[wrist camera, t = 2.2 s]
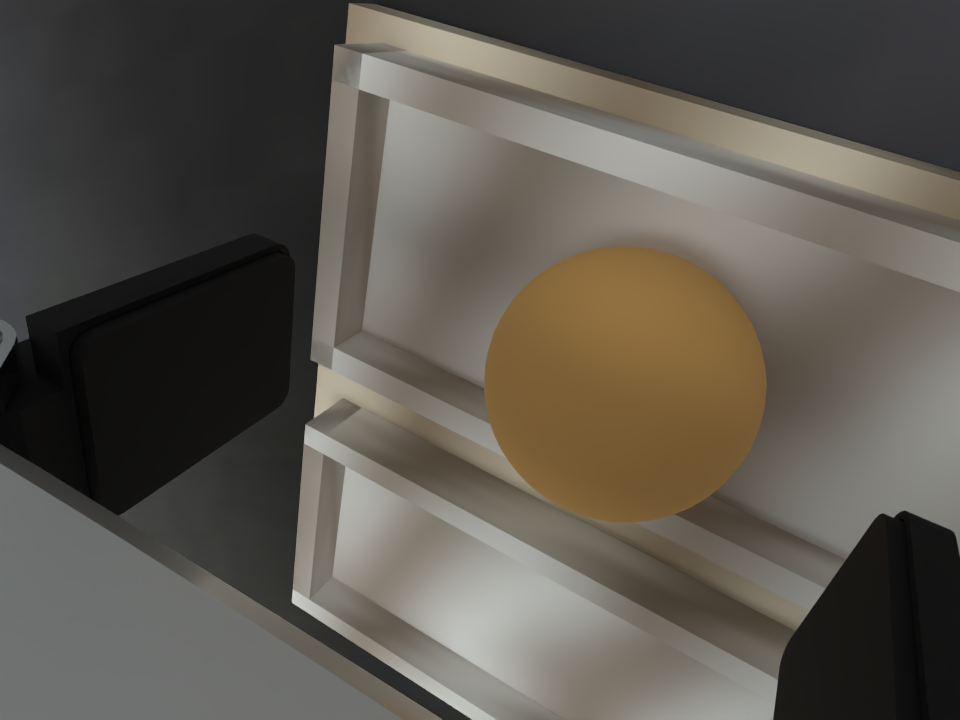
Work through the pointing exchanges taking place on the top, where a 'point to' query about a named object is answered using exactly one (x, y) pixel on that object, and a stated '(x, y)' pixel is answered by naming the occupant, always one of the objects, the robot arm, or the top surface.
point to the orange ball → (625, 384)
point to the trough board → (476, 313)
